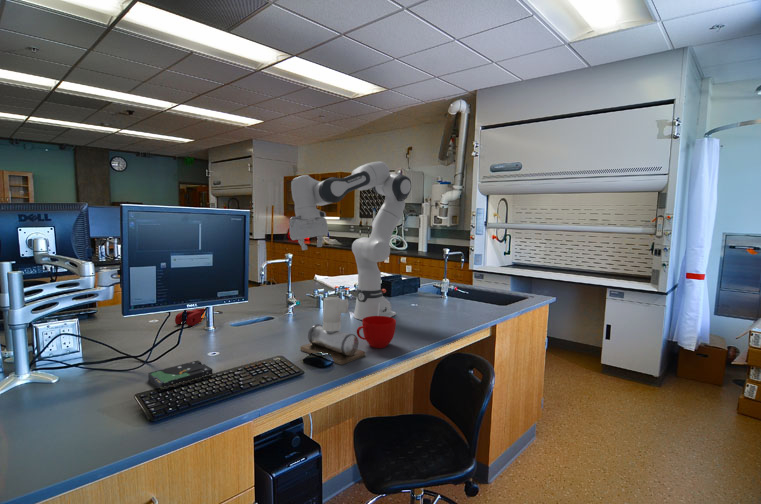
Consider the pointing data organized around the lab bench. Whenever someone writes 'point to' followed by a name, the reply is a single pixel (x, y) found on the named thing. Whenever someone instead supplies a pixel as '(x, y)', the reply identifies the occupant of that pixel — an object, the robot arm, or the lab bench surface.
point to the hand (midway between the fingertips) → (312, 248)
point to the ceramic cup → (378, 330)
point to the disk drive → (179, 374)
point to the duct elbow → (333, 313)
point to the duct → (333, 344)
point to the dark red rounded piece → (190, 317)
